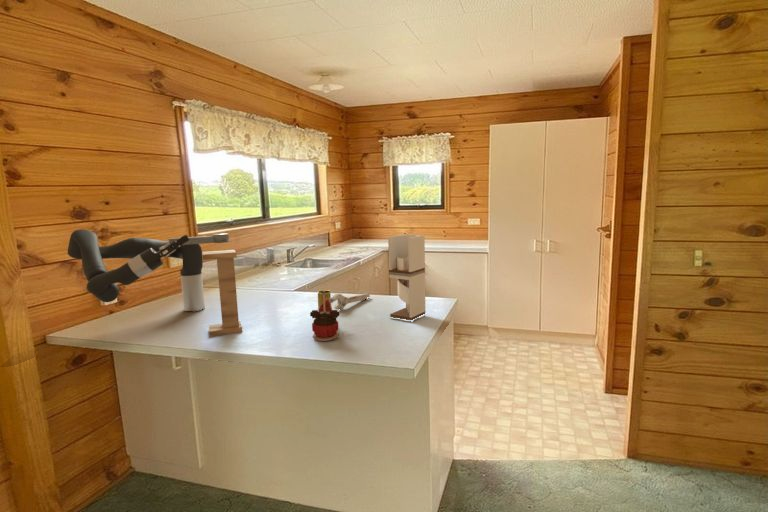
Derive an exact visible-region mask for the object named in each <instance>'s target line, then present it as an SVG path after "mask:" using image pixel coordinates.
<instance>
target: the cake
mask: <svg viewBox="0 0 768 512" xmlns="http://www.w3.org/2000/svg"><path fill="white" fill-rule="evenodd" d="M334 302H335V301H334V298H333V297H331V298H330V299H327V300H325V291H323V303H322V304H321V306H320V308H319V311H318V309H312V311H310V313H309V315H310V317H311V318H312V319H313V322H312V323H311V328H312V331H313V335H312V338H313V339H314V340H316V341H320V342H325V341H327V340H328V341H332V340H335V339H336V338H338V337H339V334H340V333H338V330H339V321H338V320H337V319H338V318H339V316H340V311H338V309H333V308H331V306H332V305H331V306H330V303H331V304H333V303H334Z"/></svg>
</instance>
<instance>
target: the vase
mask: <svg viewBox="0 0 768 512" xmlns="http://www.w3.org/2000/svg"><path fill="white" fill-rule="evenodd" d="M323 291H325V300H327V299H330V298H332V297H331V290H327V289H325V290H324V289H323V290H319V291H317V310H318V311H319V308H320V306H321V304H322V303H323ZM330 306H331V308H332V303H330ZM332 309H333V308H332Z"/></svg>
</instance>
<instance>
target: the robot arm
mask: <svg viewBox="0 0 768 512" xmlns="http://www.w3.org/2000/svg"><path fill="white" fill-rule="evenodd" d="M188 237H189V236H188V234H183V235H182V236H181V237H179V238H180V239H178V240H176V241H174V242H173V243H169V240H168V241H167V240H160V239H155V238H154V239H153V238H148V237H147V238H146V237H129V238H125V239H123V240H120V241H118V242H116V243H114V244H112V245H107V246H106V245H105V246H99V237H98V236H97V234H96V233H95V232H93V231H91V230H88V229H84V228H82V229H80V228H79V229H76V230H73V232H72V233H71V234H70V236H69V241H68V247H67V255H68V256H69V257H71V258H73V259H77V260H81V262H82V263H81V265H82V270H83V274H84V276H85V278H86V280H87V283H86V284H87V285H86V290H87V291H88V293H90V294H91V295H93V296H94V297H95V298H97V299H98V300H99V301H100V302H104V303H112V302H113V301H115V300H116V299H117V298H118V296H119V294H120V289H119V286H118V285H117V283H118V284H122V285H124V286H129V285H131V284H133V283H134V282H136V281H138V280H140V279H141V278H143V277H145V276H147V275H148V274H151V273H152V272H154V271H155V270H156V269H158V268H160V267H162V266H163V265H164V262H163V259H162V258H176V259H180V260H182V267H181V268H180V270H179V272H180V273H179V274H180V282H181V283H180V284H181V292H182V301H183V303H182V304H183V311H184V312H186V311H193V312H198V311H202V309H203V310H205V309H206V307H205V306H206V305H205V294H204V285H203V283H204V282H203V272H202V270H203V266H204V265H203V264H204V263H203V261H204V260H203V250H202V249H203V248H202V247H201V244H189V245H182V244H184V243H185V242H187V241H189V238H188ZM172 245H173V246H172ZM105 259H106V260H107V259H129V261H127V262H126V263H124V264H123V265H121V266H120V267H117V268H116V269H112V270H109V271H108V269H107V268H106V265H105V262H104V261H103V260H105Z"/></svg>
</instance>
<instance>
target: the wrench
mask: <svg viewBox="0 0 768 512" xmlns="http://www.w3.org/2000/svg"><path fill="white" fill-rule="evenodd" d="M367 297H371V295H370V294H369V293H362V294H361V293H360V294H356V295H352V296H347V297H346V296H345V295H342V293H335V294H334V295H333V297H332V298H334V302H336V301H337V304H336V305H334V306H333V308H334V310H337V311H338V310H339V309H340V310H339V311H343V310H344V308H345V307H346V306H347V305H348V304H353V303H358V302H362V301H366V300H365V299H367Z"/></svg>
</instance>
